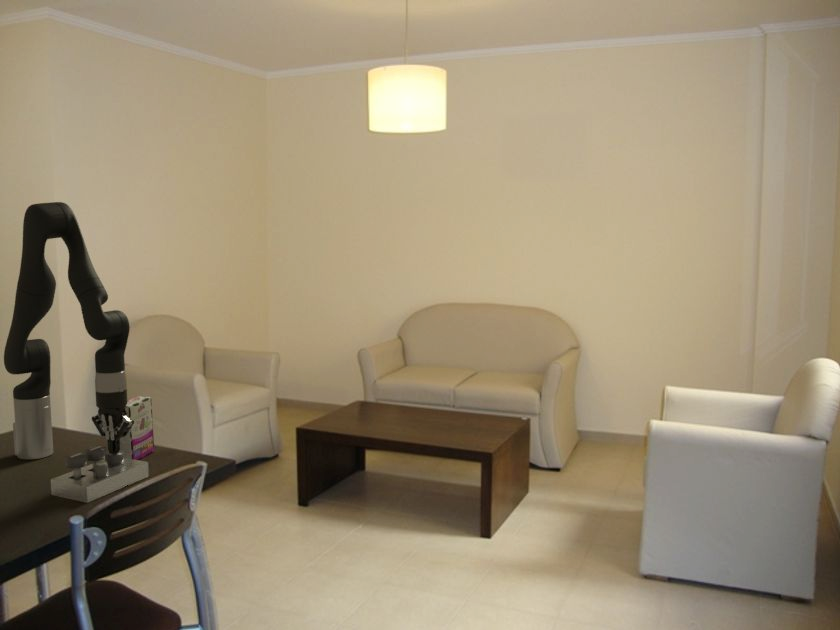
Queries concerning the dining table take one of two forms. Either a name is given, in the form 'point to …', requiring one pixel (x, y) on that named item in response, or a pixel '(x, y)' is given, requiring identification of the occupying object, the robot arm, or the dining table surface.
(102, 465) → the pot post
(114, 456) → the knob
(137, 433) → the candy bar box
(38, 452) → the robot arm
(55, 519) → the dining table surface
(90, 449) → the knob
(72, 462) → the knob
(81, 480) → the mount
